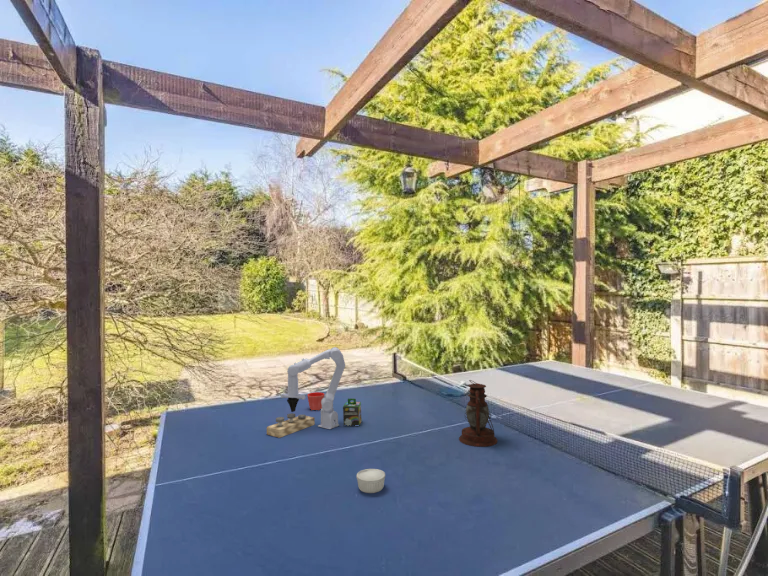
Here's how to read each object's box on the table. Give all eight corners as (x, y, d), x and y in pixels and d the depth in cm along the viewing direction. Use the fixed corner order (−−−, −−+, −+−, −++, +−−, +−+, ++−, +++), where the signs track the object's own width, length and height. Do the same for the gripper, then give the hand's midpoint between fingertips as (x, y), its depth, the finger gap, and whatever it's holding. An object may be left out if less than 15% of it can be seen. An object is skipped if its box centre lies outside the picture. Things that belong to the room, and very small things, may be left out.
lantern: (498, 448, 204) (497, 385, 204) (458, 445, 207) (457, 383, 208) (496, 434, 222) (495, 377, 222) (459, 432, 226) (458, 376, 226)
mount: (302, 421, 250) (302, 414, 250) (314, 424, 244) (314, 417, 244) (266, 434, 228) (266, 426, 229) (279, 437, 223) (279, 430, 223)
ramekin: (369, 479, 173) (369, 465, 173) (391, 486, 165) (391, 473, 165) (350, 489, 164) (350, 475, 164) (372, 497, 157) (372, 483, 157)
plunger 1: (286, 426, 230) (285, 417, 230) (279, 429, 227) (279, 419, 227) (280, 425, 233) (280, 416, 233) (274, 427, 229) (274, 418, 229)
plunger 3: (307, 423, 243) (307, 415, 243) (301, 425, 240) (301, 417, 240) (302, 422, 246) (301, 414, 246) (296, 424, 242) (296, 416, 242)
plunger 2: (297, 423, 237) (296, 414, 237) (291, 425, 233) (291, 416, 233) (291, 421, 239) (291, 412, 239) (285, 423, 236) (285, 414, 236)
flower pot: (323, 411, 271) (323, 396, 271) (306, 411, 271) (305, 396, 271) (325, 406, 282) (325, 392, 282) (309, 407, 282) (309, 392, 282)
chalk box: (361, 421, 248) (361, 396, 249) (359, 426, 239) (358, 400, 239) (346, 421, 249) (345, 395, 249) (343, 426, 240) (342, 400, 240)
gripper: (308, 386, 239) (308, 410, 239) (285, 384, 244) (285, 408, 244) (301, 389, 233) (301, 414, 232) (278, 387, 237) (278, 411, 237)
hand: (293, 411), depth 238 cm, fingers closed
